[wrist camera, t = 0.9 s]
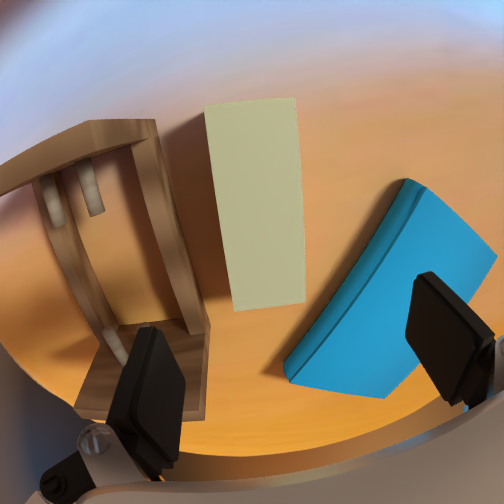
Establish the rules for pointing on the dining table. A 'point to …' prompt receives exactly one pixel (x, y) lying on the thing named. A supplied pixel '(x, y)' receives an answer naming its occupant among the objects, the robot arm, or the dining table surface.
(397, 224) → the book
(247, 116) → the pale green block
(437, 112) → the dining table surface
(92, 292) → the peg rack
